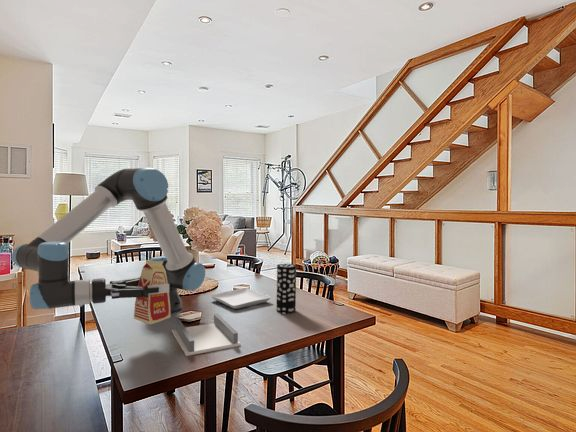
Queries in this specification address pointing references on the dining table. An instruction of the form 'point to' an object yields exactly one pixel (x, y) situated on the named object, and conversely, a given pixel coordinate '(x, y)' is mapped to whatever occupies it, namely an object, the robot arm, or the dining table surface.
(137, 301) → the milk carton
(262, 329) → the dining table surface
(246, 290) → the salad plate
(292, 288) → the white-spotted black cylinder
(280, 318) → the dining table surface
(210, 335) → the rail board
